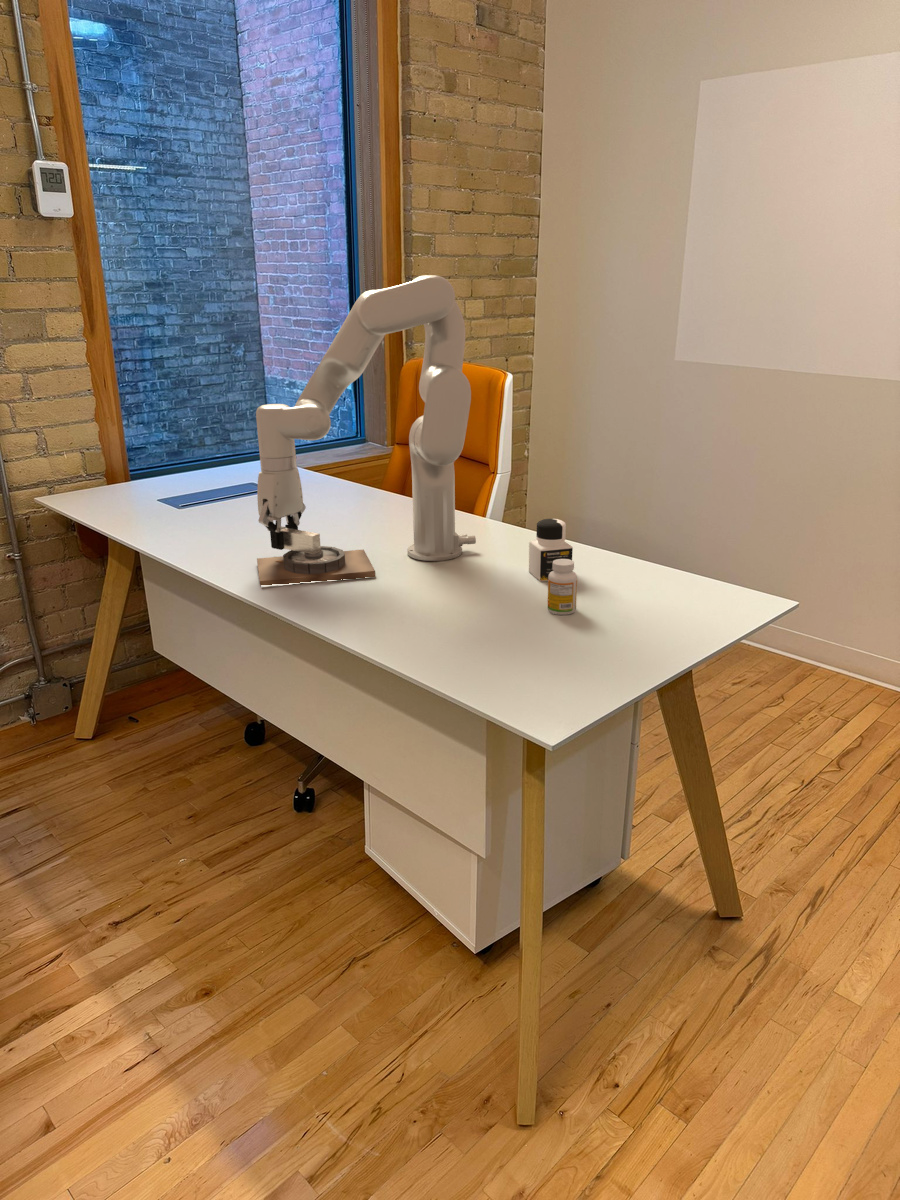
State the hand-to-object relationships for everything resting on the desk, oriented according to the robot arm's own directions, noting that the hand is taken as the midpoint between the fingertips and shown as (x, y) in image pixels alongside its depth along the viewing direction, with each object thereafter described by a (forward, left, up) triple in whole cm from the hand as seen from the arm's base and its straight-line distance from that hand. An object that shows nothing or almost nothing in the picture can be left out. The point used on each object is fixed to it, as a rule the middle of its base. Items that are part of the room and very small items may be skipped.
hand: (285, 544), depth 190 cm
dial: (-4, +4, -3) cm, 6 cm away
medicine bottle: (-54, +23, -5) cm, 58 cm away
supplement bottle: (-49, +43, -5) cm, 65 cm away
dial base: (-6, +6, -5) cm, 9 cm away
